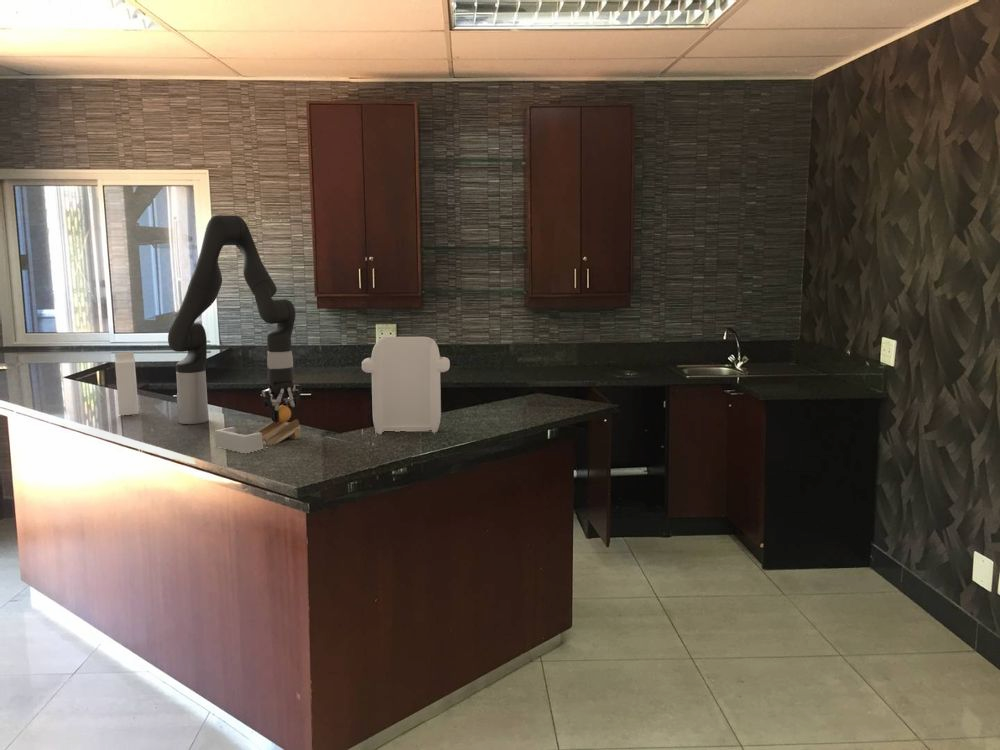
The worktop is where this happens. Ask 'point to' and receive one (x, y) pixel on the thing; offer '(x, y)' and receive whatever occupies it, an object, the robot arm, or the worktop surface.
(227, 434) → the backstop
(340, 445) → the worktop surface
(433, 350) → the toaster
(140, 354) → the worktop surface
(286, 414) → the ball
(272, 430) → the ramp
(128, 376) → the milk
